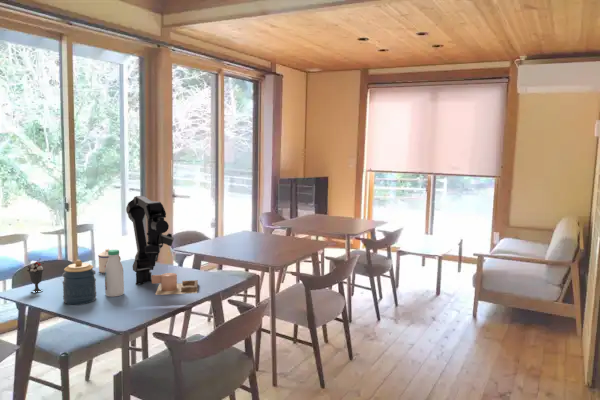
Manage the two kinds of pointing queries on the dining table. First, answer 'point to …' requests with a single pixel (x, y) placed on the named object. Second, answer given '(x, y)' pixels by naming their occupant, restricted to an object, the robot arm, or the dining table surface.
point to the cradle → (181, 288)
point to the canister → (79, 283)
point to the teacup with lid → (103, 260)
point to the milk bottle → (114, 275)
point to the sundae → (36, 274)
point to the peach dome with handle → (166, 281)
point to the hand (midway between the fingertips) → (154, 263)
